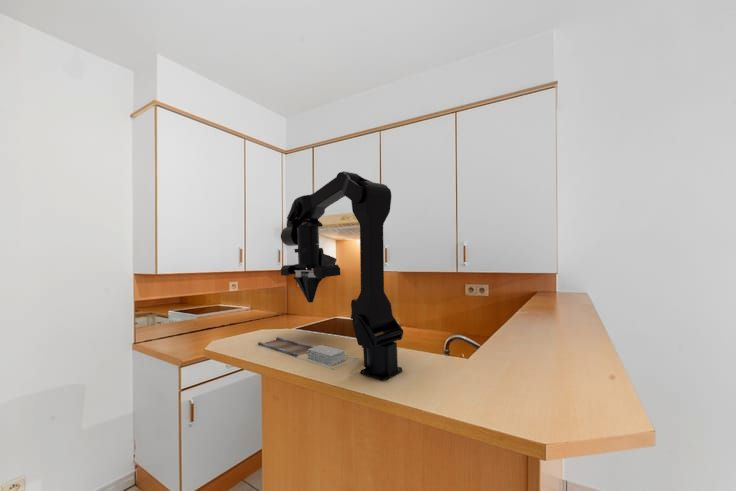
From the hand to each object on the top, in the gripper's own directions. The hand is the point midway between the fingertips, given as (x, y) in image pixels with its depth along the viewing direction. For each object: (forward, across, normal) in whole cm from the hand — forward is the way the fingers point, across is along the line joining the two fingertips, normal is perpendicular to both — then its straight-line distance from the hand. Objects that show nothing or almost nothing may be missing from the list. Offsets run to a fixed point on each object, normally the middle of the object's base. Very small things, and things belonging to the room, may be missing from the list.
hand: (310, 302), depth 83 cm
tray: (+12, -12, +6) cm, 18 cm away
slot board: (+12, +3, +6) cm, 14 cm away
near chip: (+12, -15, +7) cm, 20 cm away
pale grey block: (+12, -11, +7) cm, 17 cm away
